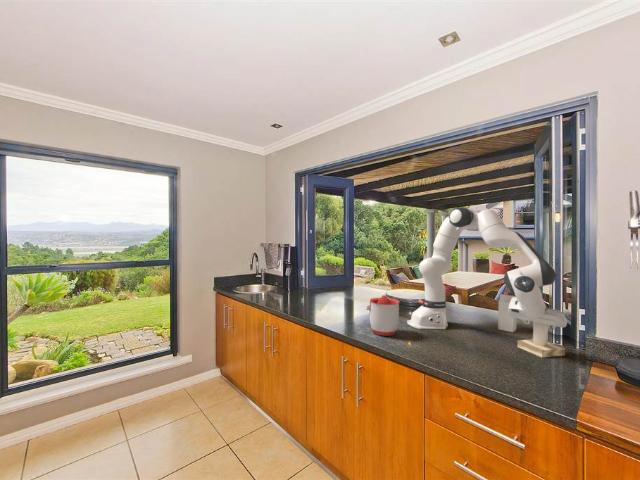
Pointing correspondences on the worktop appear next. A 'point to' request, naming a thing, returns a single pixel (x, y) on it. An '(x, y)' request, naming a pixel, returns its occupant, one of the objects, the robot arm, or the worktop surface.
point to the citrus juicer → (384, 315)
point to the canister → (540, 334)
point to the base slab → (541, 348)
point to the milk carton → (505, 314)
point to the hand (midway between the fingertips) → (539, 325)
